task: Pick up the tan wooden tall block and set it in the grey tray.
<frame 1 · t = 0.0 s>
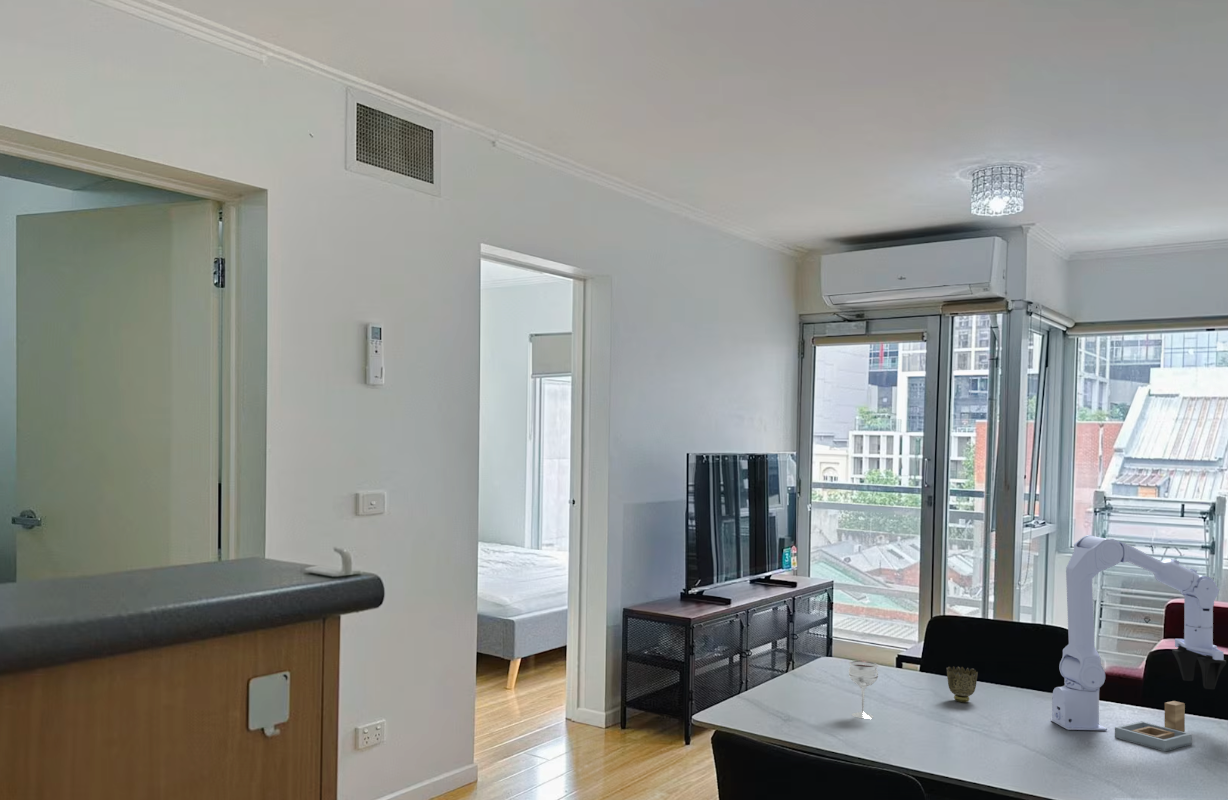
hand: (1198, 684, 223), 10 cm above the table, fingers open, 7 cm apart
tan wooden tall block: (1174, 734, 217), on the table
wineglass: (862, 716, 224), on the table
cup: (961, 702, 240), on the table
grey tray: (1152, 740, 211), on the table
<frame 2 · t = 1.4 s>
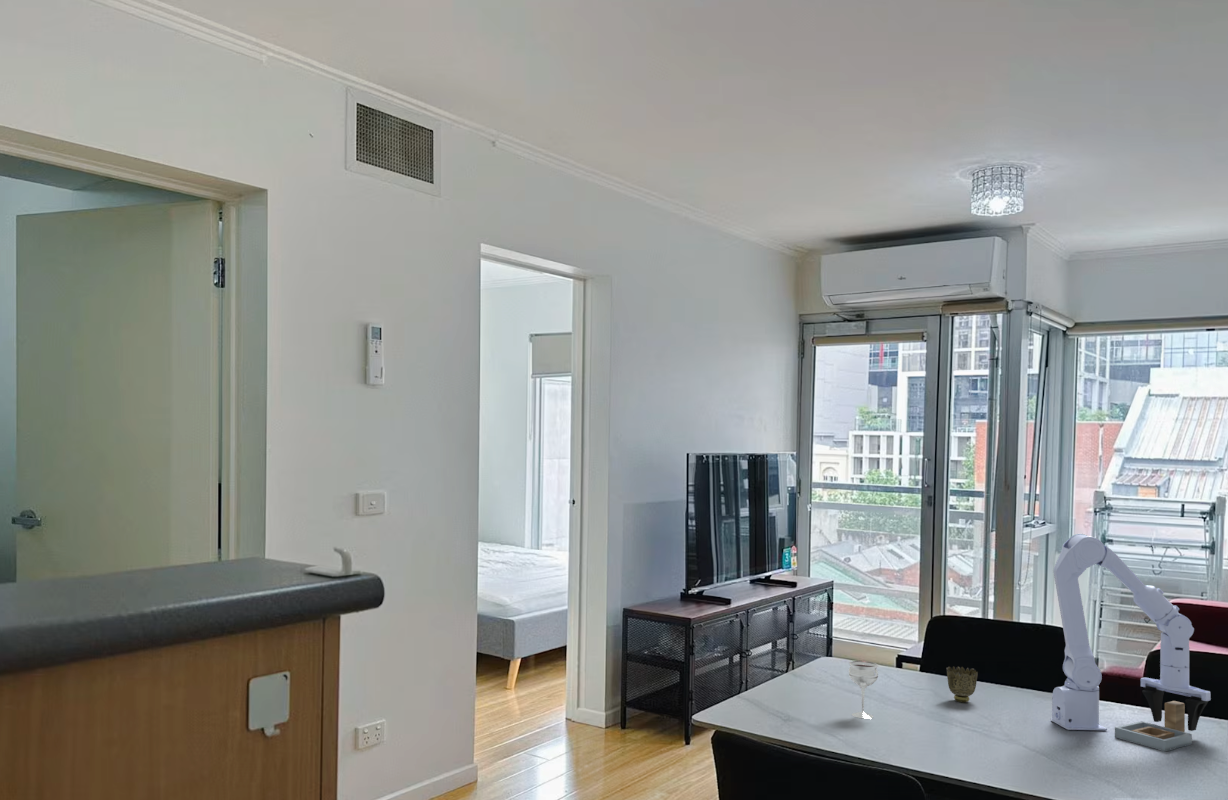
hand: (1174, 725, 217), 2 cm above the table, fingers open, 7 cm apart
nothing on the table moved.
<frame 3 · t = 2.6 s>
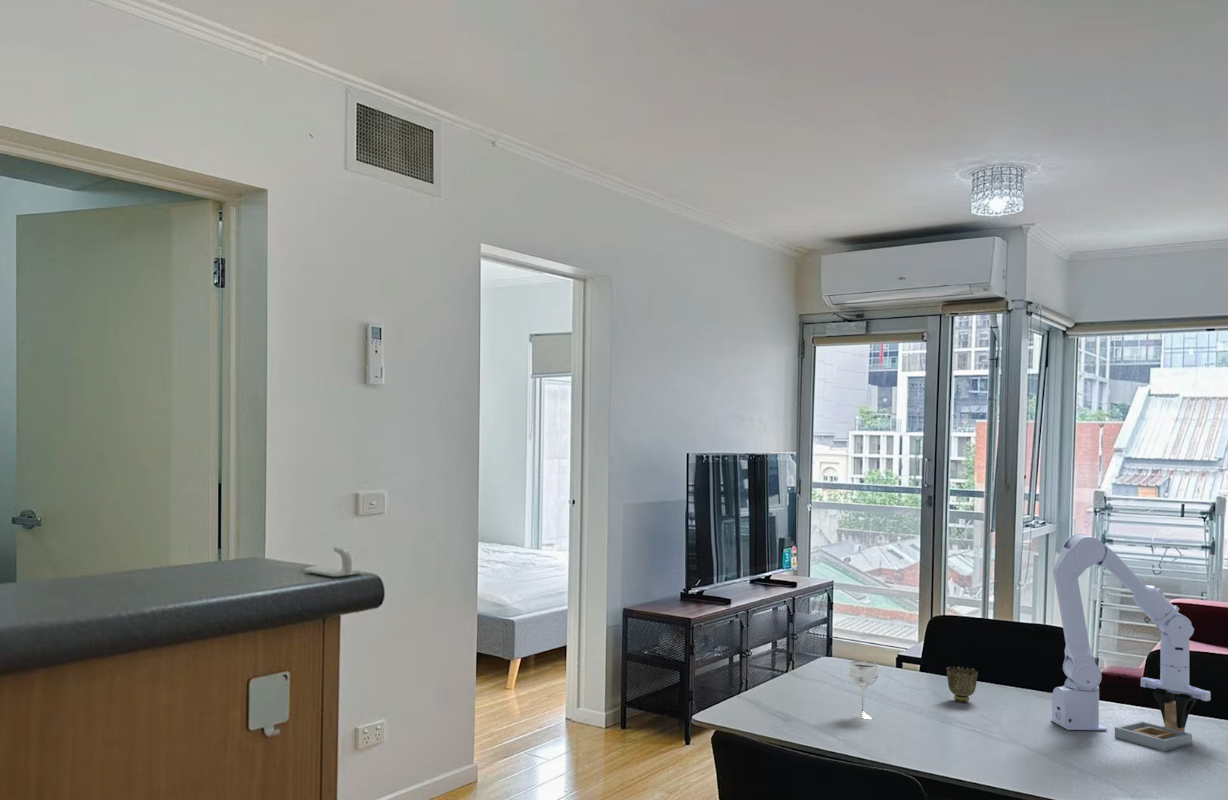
hand: (1174, 725, 217), 2 cm above the table, fingers closed on tan wooden tall block, 2 cm apart
tan wooden tall block: (1174, 734, 217), on the table, touching gripper
everything else where it was.
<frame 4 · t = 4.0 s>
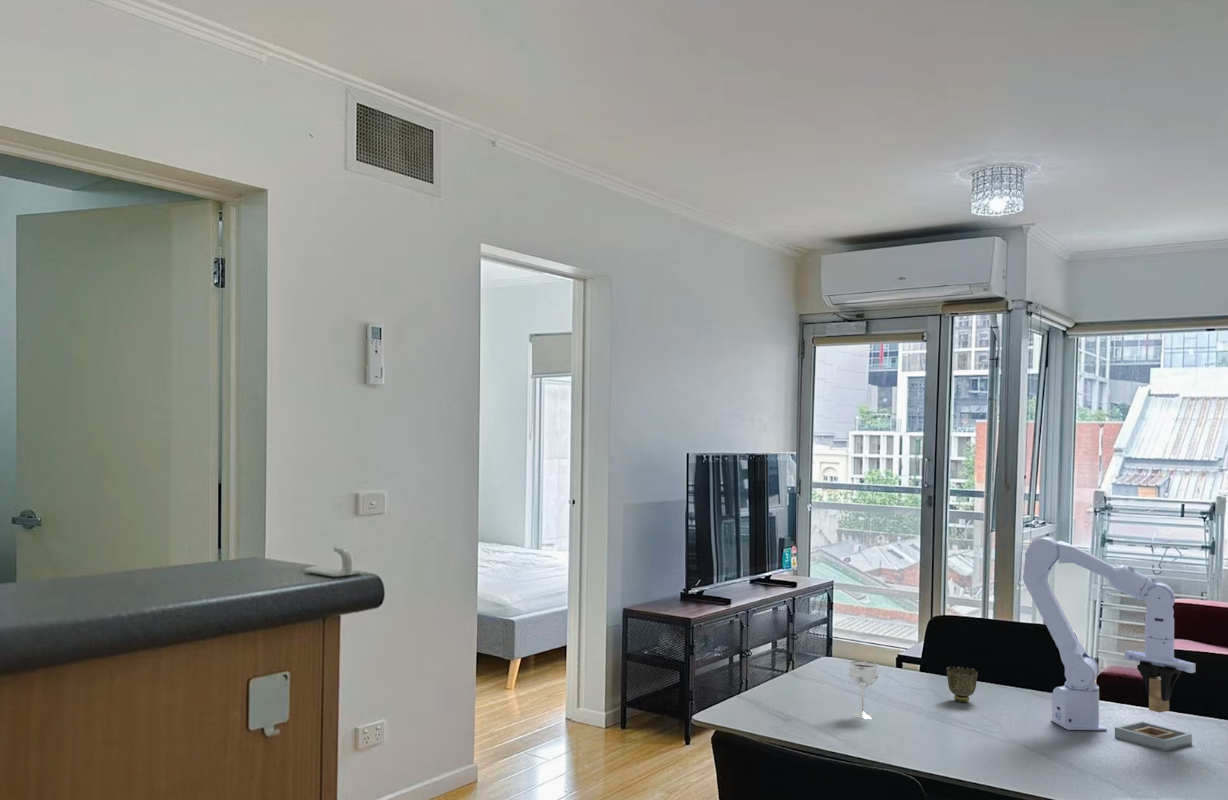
hand: (1158, 698, 213), 9 cm above the table, fingers closed on tan wooden tall block, 2 cm apart
tan wooden tall block: (1159, 710, 213), point 6 cm above the table, touching gripper
everything else where it was.
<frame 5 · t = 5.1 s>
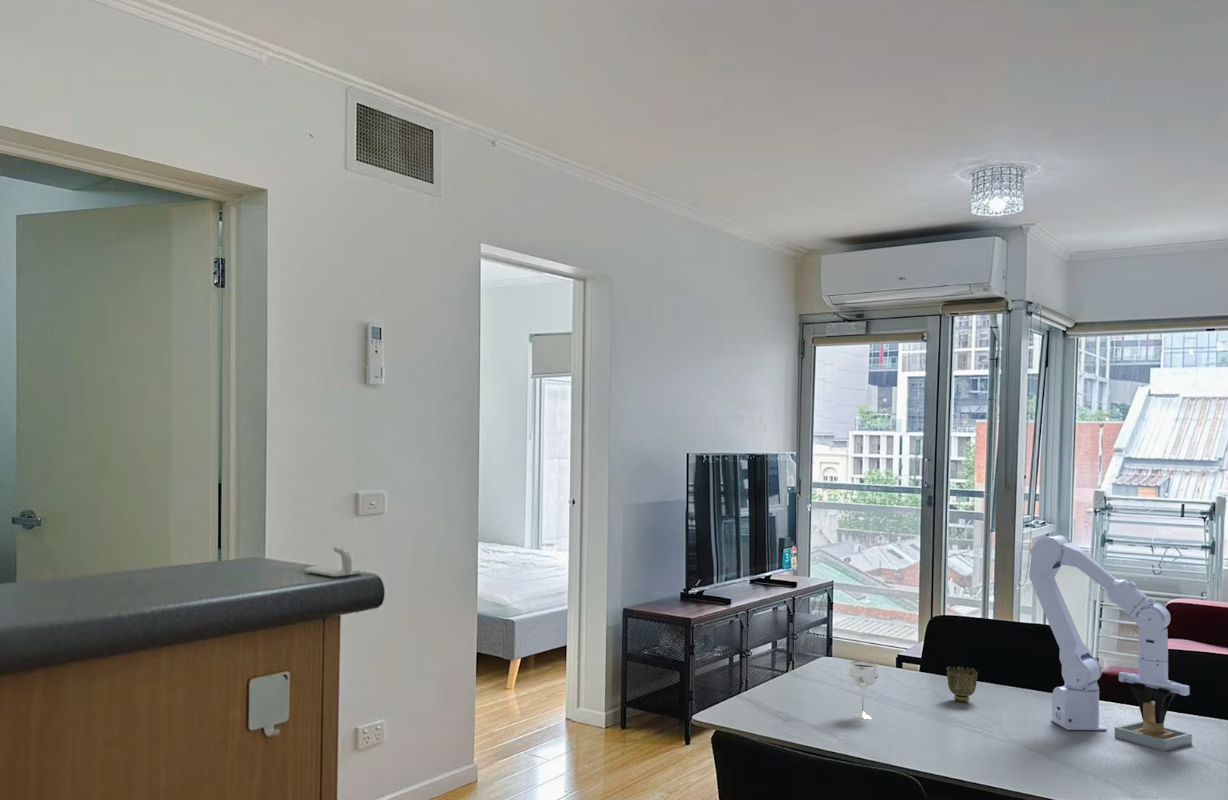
hand: (1153, 721, 211), 4 cm above the table, fingers closed on tan wooden tall block, 2 cm apart
tan wooden tall block: (1153, 735, 211), point 1 cm above the table, touching gripper
everything else where it was.
when the fingers open (4 cm above the table, at t = 5.7 s): tan wooden tall block stays where it is, resting on grey tray.
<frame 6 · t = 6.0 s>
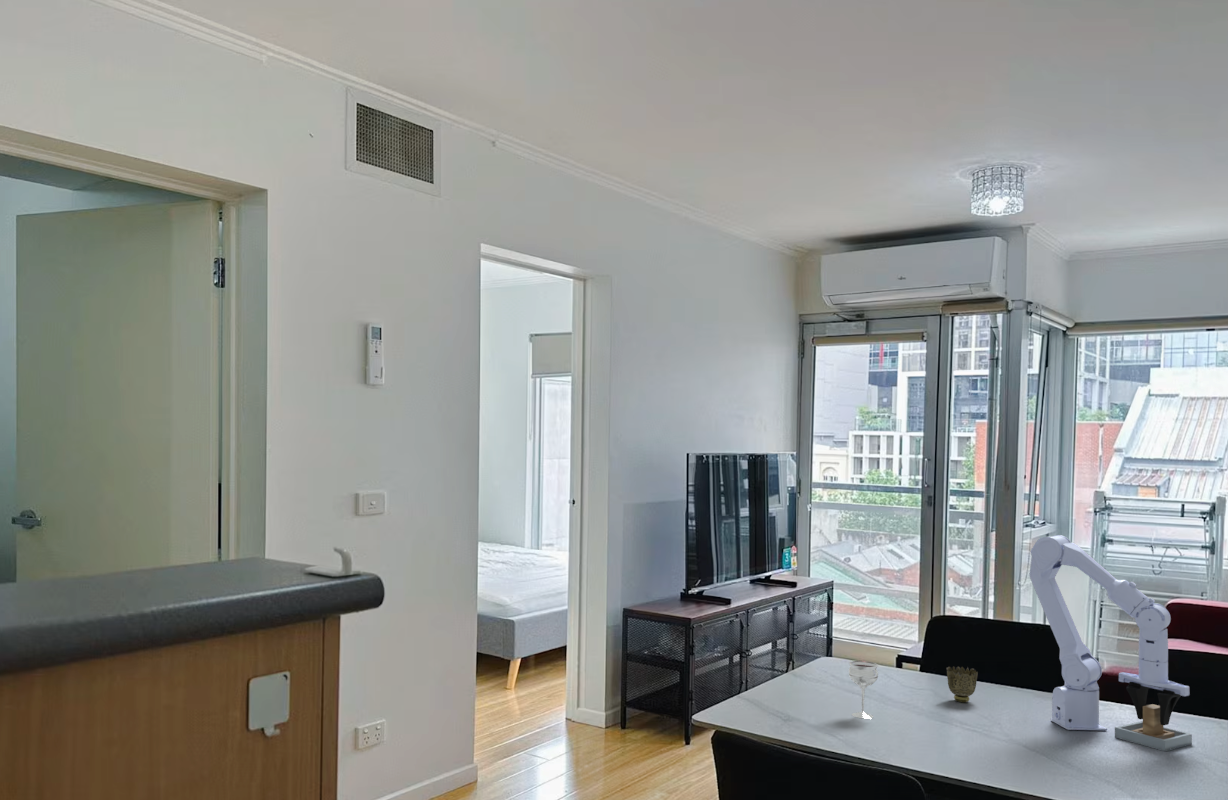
hand: (1153, 721, 211), 4 cm above the table, fingers open, 4 cm apart
tan wooden tall block: (1153, 738, 211), resting on grey tray
everything else where it was.
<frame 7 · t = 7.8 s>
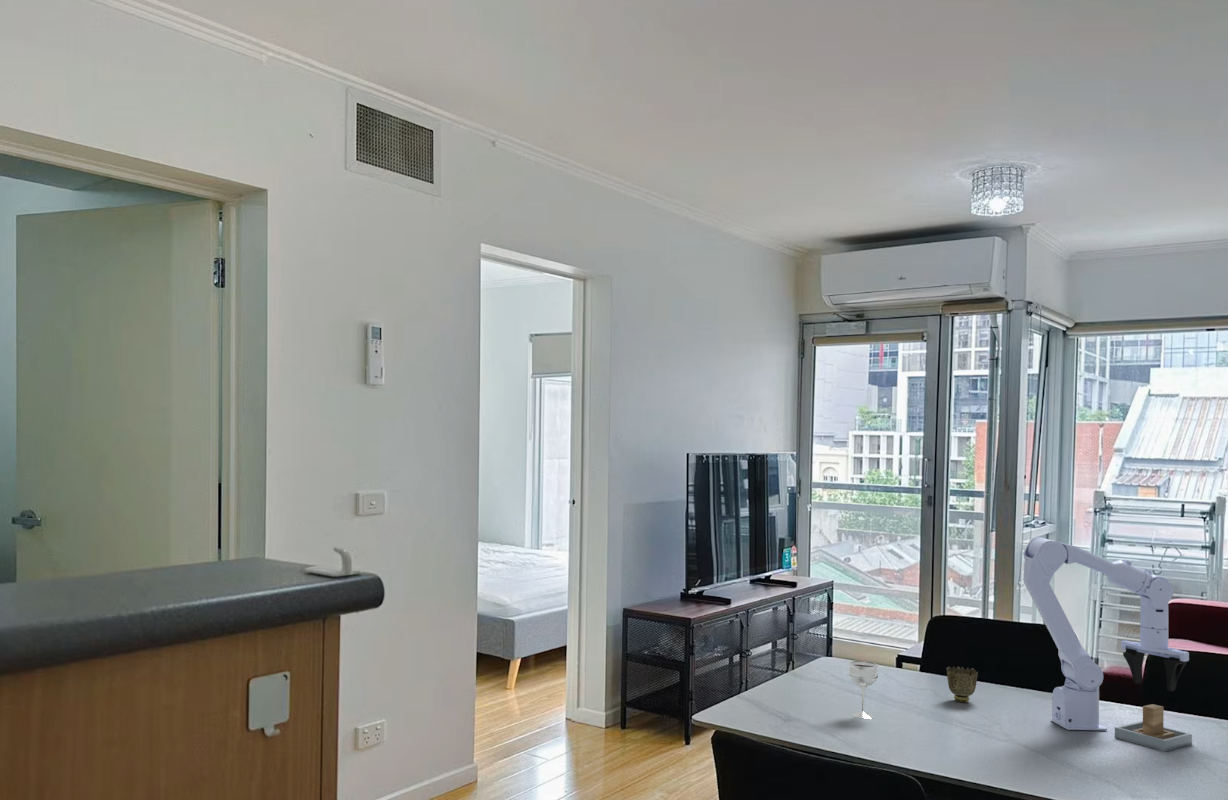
hand: (1154, 686, 220), 10 cm above the table, fingers open, 7 cm apart
nothing on the table moved.
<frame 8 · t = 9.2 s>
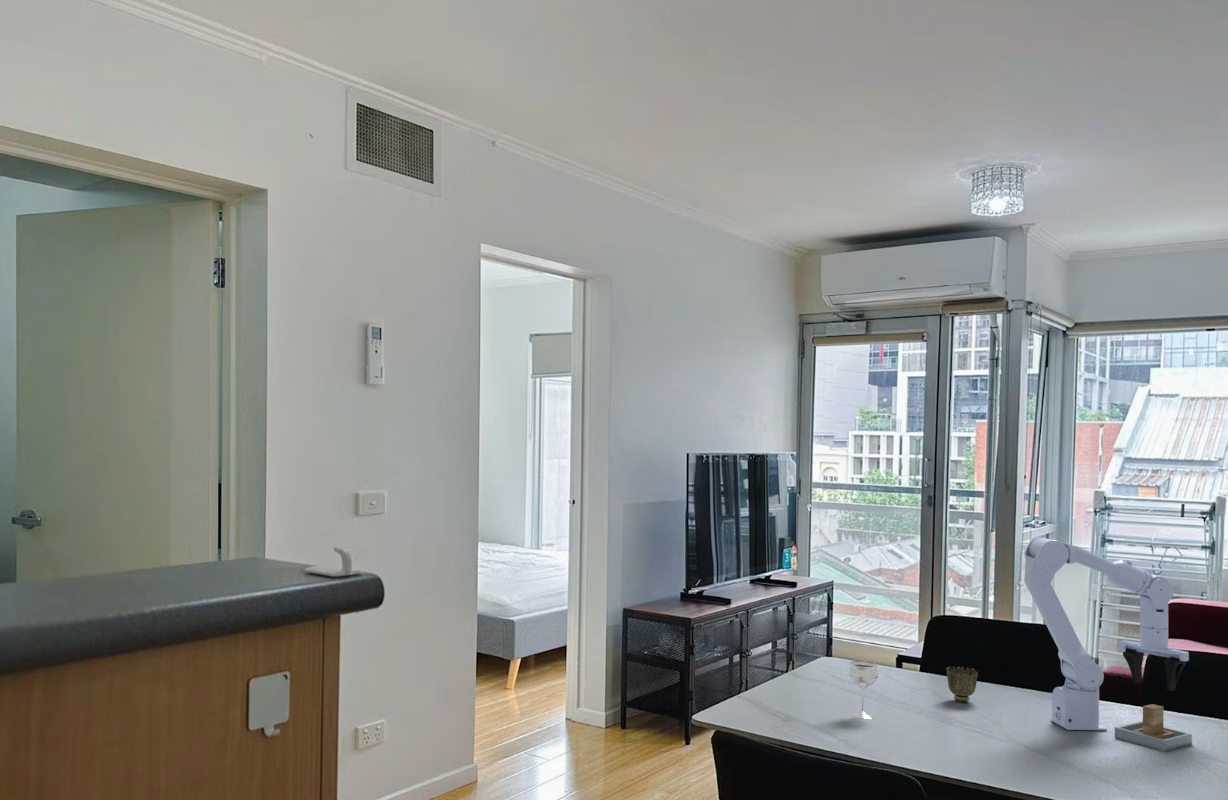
hand: (1153, 686, 220), 10 cm above the table, fingers open, 7 cm apart
nothing on the table moved.
at the end: tan wooden tall block 0.0 cm off-centre on the grey tray, point 0.5 cm above the grey tray's base; tan wooden tall block tilted 0°; the gripper is holding nothing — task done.
